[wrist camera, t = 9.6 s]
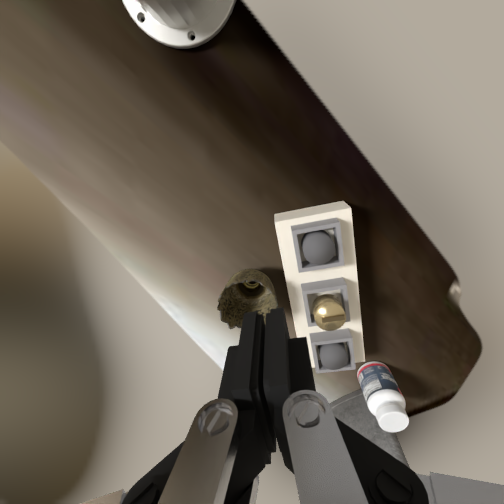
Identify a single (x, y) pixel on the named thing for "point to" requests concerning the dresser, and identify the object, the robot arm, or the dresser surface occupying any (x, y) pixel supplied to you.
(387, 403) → the pill bottle
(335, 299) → the brass knob
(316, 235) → the button
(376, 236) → the dresser surface
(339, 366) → the button
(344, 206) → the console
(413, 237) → the dresser surface
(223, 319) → the olive hollow bell-shaped piece
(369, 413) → the flask
